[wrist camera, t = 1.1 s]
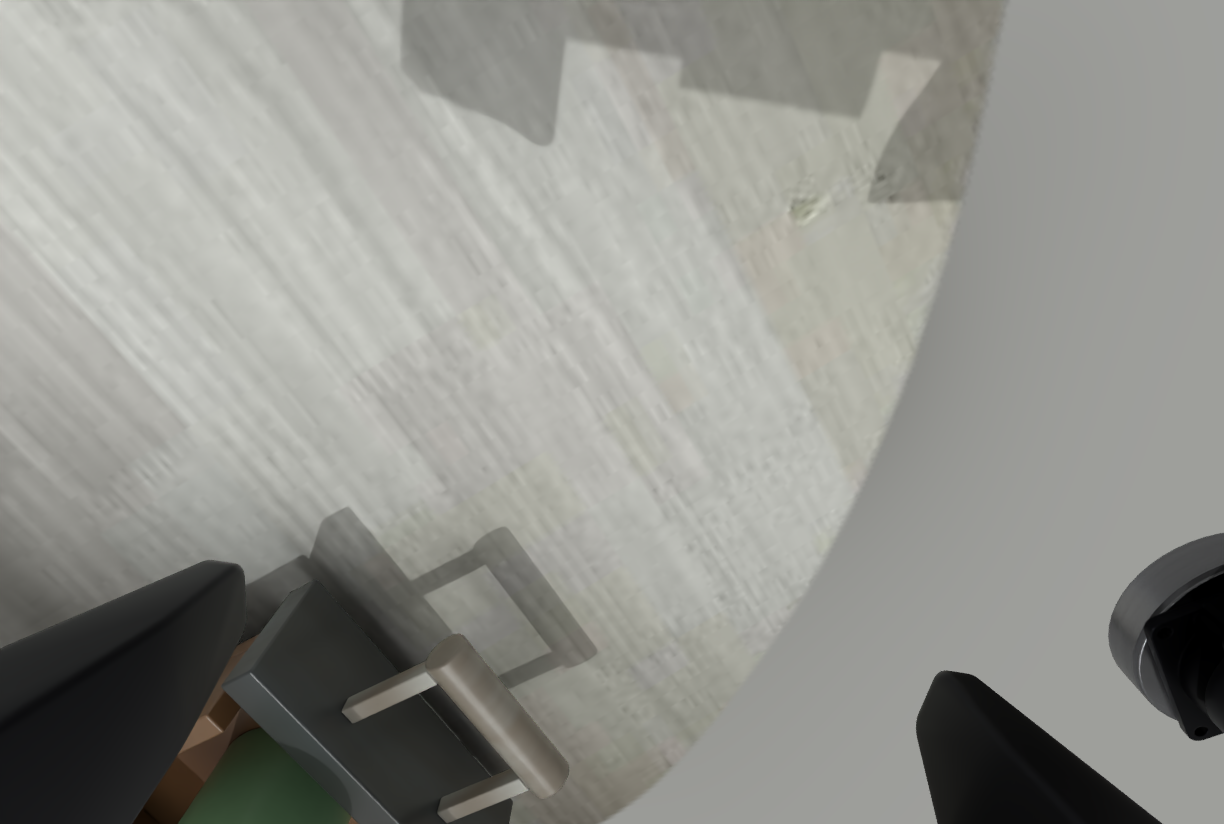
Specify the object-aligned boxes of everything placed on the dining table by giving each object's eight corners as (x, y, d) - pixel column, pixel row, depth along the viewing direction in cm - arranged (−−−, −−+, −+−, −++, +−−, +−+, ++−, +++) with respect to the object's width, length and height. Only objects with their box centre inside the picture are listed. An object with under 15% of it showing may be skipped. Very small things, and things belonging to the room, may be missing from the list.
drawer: (429, 517, 22) (384, 603, 18) (618, 758, 26) (615, 874, 22) (60, 713, 26) (-45, 819, 22) (271, 898, 30) (214, 1018, 26)
